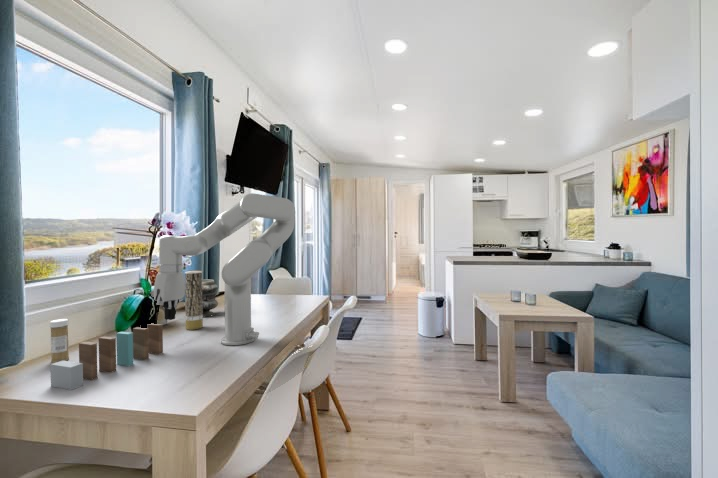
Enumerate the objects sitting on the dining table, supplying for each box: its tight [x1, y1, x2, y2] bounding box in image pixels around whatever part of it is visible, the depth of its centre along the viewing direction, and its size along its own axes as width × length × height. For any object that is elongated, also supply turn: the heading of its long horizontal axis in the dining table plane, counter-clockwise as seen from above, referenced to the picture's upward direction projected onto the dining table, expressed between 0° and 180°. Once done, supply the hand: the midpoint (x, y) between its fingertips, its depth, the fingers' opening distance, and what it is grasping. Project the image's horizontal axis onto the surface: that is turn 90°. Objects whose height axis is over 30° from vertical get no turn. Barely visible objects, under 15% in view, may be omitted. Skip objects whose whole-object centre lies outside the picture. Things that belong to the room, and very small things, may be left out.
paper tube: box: [184, 270, 204, 331], centre depth 152 cm, size 7×7×25 cm
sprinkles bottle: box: [49, 318, 70, 364], centre depth 114 cm, size 5×5×14 cm
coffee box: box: [139, 289, 168, 326], centre depth 157 cm, size 9×6×16 cm
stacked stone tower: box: [202, 279, 219, 318], centre depth 178 cm, size 12×12×18 cm
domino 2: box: [98, 336, 117, 373], centre depth 104 cm, size 2×5×10 cm, turn 71°
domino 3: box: [115, 331, 134, 367], centre depth 110 cm, size 2×5×10 cm, turn 71°
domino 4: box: [132, 326, 150, 361], centre depth 115 cm, size 2×5×10 cm, turn 72°
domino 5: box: [147, 323, 164, 355], centre depth 120 cm, size 2×5×10 cm, turn 71°
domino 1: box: [78, 341, 99, 381], centre depth 99 cm, size 2×5×10 cm, turn 71°
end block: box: [49, 360, 84, 391], centre depth 94 cm, size 8×3×6 cm, turn 72°
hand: (169, 319), depth 127 cm, fingers closed
